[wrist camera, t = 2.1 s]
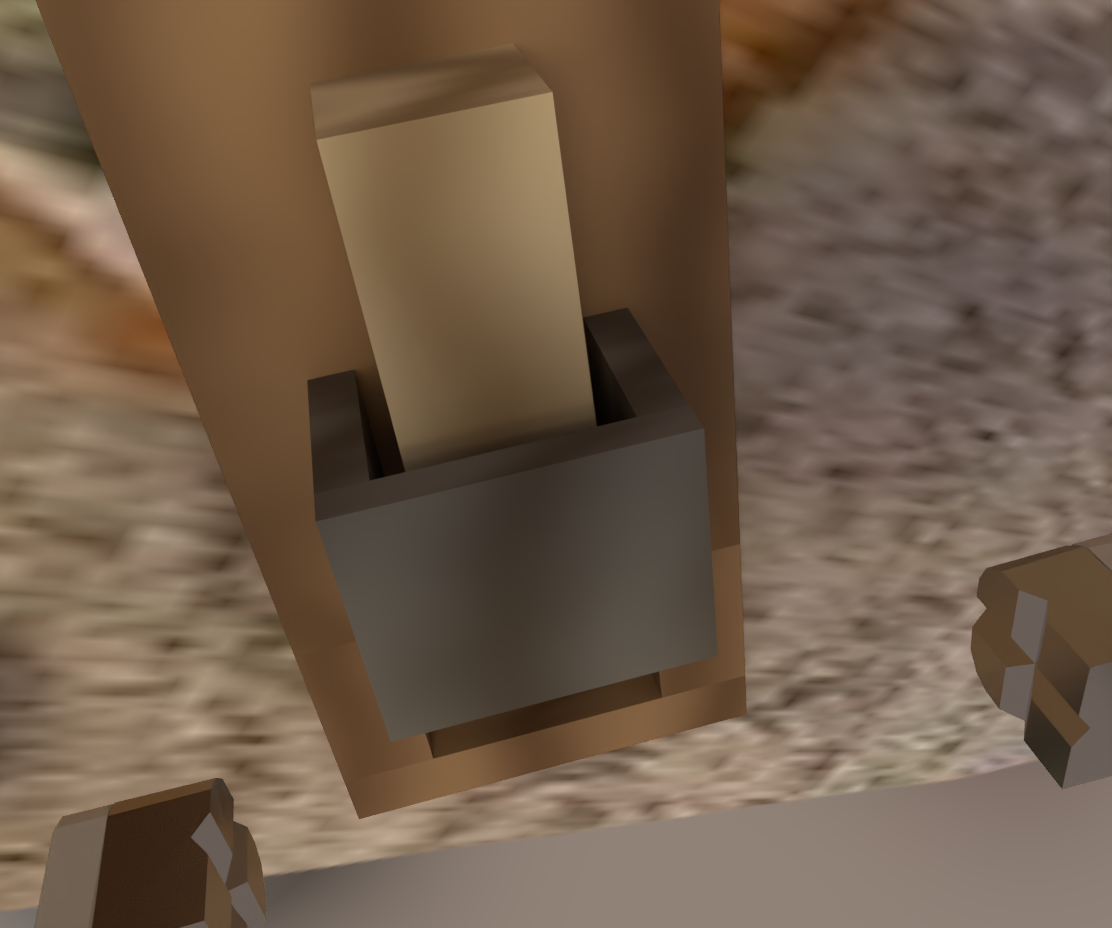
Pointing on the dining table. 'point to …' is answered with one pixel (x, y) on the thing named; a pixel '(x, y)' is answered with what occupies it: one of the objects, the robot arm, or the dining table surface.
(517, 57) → the birch bar
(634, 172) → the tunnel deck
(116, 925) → the robot arm
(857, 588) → the dining table surface
